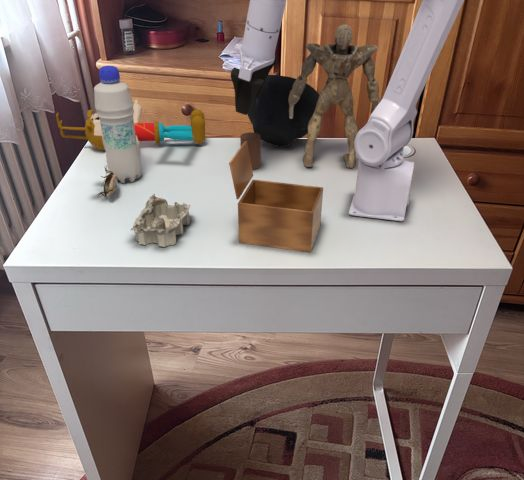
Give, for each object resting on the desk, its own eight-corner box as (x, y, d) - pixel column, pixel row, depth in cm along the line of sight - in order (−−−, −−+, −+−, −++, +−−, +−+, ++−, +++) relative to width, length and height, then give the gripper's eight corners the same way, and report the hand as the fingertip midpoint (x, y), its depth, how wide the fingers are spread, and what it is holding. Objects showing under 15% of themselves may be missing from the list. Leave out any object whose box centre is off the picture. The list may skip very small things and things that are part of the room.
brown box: (238, 242, 89) (237, 203, 84) (253, 217, 95) (252, 179, 90) (310, 252, 86) (313, 212, 82) (320, 225, 93) (323, 187, 88)
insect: (101, 170, 95) (118, 176, 95) (106, 159, 102) (122, 164, 103) (93, 202, 97) (111, 208, 98) (99, 189, 105) (115, 194, 106)
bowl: (278, 107, 103) (293, 59, 103) (217, 117, 114) (231, 74, 115) (327, 154, 115) (341, 111, 116) (268, 159, 127) (280, 119, 127)
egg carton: (156, 213, 96) (153, 191, 93) (196, 219, 94) (194, 197, 92) (128, 243, 88) (124, 220, 86) (171, 250, 87) (168, 227, 84)
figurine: (367, 153, 116) (389, 17, 99) (373, 169, 110) (398, 29, 93) (284, 151, 115) (292, 15, 98) (286, 168, 109) (295, 26, 92)
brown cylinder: (262, 162, 112) (262, 133, 108) (257, 170, 109) (257, 140, 105) (244, 160, 113) (243, 131, 109) (238, 168, 110) (237, 138, 106)
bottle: (147, 171, 109) (132, 61, 96) (138, 186, 104) (120, 72, 91) (114, 170, 109) (94, 60, 96) (104, 184, 104) (81, 70, 91)
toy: (209, 140, 107) (48, 138, 102) (208, 179, 113) (57, 179, 109) (201, 84, 123) (61, 81, 118) (201, 121, 129) (68, 119, 125)
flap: (238, 199, 84) (236, 199, 84) (253, 175, 90) (251, 175, 90) (230, 162, 80) (228, 162, 80) (246, 140, 86) (245, 140, 86)
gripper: (252, 4, 95) (238, 81, 106) (227, 31, 86) (214, 113, 96) (290, 17, 95) (272, 93, 106) (269, 46, 86) (252, 126, 96)
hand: (247, 103), depth 101 cm, fingers open, 7 cm apart
